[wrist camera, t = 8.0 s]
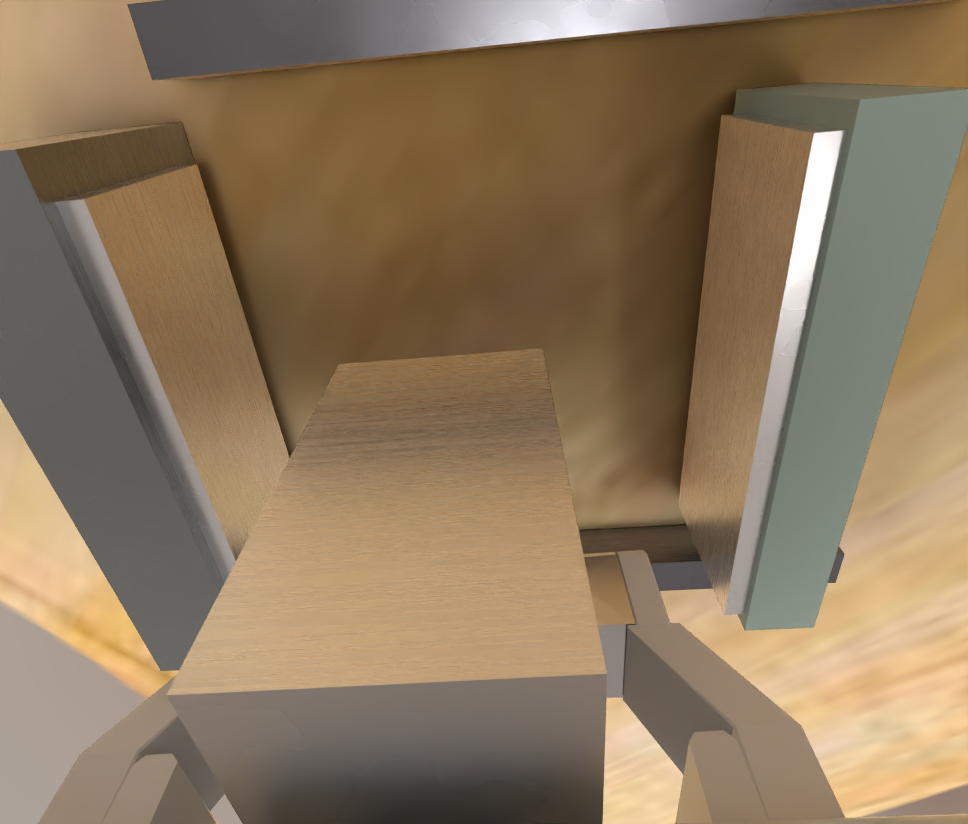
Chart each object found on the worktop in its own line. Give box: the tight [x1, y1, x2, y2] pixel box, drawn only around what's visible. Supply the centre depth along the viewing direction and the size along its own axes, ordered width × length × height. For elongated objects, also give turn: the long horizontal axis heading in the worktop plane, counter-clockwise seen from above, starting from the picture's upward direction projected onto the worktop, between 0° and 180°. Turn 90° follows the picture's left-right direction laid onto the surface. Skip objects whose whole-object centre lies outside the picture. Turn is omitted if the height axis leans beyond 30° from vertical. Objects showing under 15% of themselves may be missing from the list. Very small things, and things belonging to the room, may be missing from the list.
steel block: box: [166, 348, 607, 824], centre depth 10 cm, size 4×7×7 cm, turn 5°
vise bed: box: [0, 0, 959, 671], centre depth 17 cm, size 24×20×6 cm
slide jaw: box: [678, 83, 968, 630], centre depth 16 cm, size 3×14×6 cm, turn 5°
